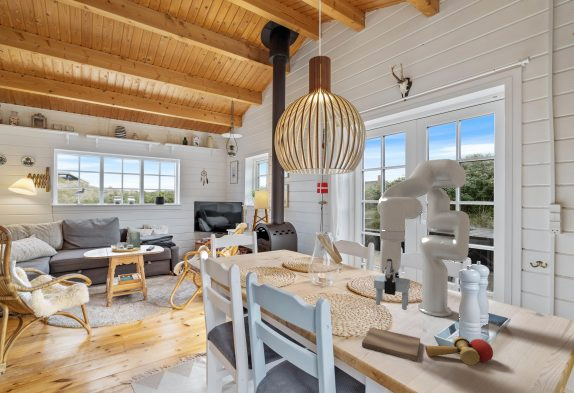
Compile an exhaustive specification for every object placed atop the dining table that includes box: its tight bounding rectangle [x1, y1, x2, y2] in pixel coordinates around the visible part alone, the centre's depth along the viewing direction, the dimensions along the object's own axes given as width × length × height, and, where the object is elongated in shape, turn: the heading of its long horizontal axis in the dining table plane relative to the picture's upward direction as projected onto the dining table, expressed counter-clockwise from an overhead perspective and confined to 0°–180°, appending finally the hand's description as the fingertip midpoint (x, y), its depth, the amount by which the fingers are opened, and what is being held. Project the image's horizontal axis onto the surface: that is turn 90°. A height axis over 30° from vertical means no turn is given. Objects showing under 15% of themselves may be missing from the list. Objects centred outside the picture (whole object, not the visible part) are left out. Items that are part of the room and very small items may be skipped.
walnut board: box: [361, 326, 421, 362], centre depth 94 cm, size 12×16×2 cm
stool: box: [373, 274, 411, 311], centre depth 94 cm, size 10×7×8 cm
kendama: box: [425, 336, 494, 366], centre depth 86 cm, size 8×6×18 cm
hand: (392, 290), depth 94 cm, fingers closed on stool, 7 cm apart
